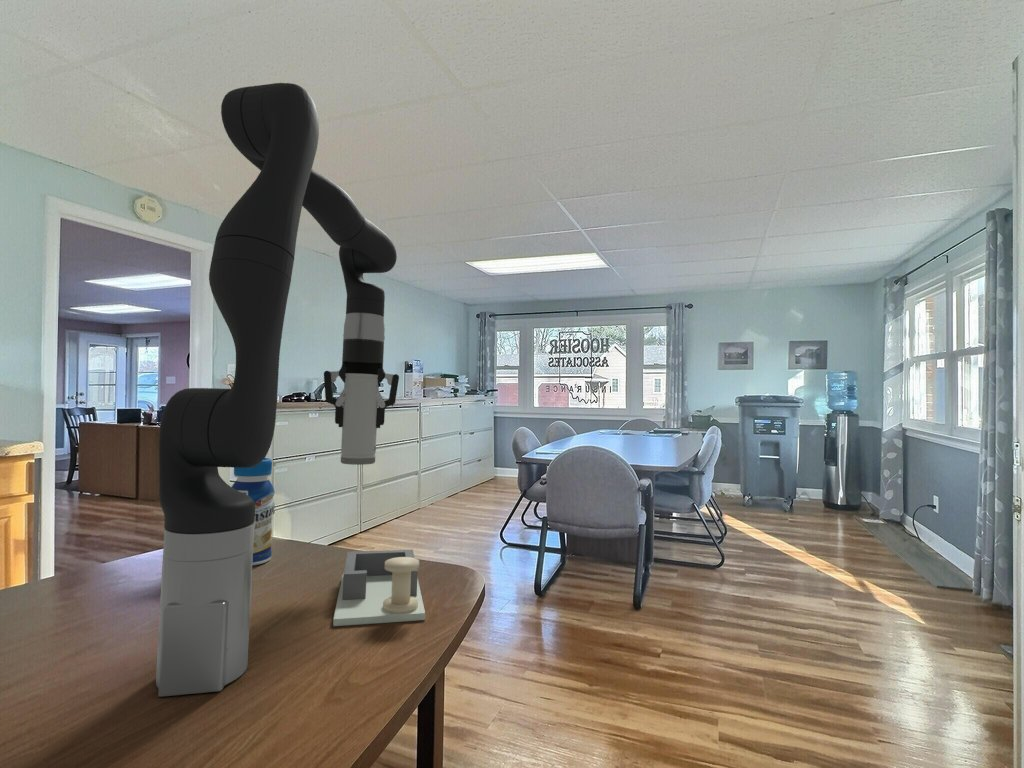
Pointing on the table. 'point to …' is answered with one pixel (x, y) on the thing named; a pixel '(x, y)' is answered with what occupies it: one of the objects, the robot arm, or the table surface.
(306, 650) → the table surface
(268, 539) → the beverage bottle
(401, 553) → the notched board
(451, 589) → the table surface
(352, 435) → the travel mug
